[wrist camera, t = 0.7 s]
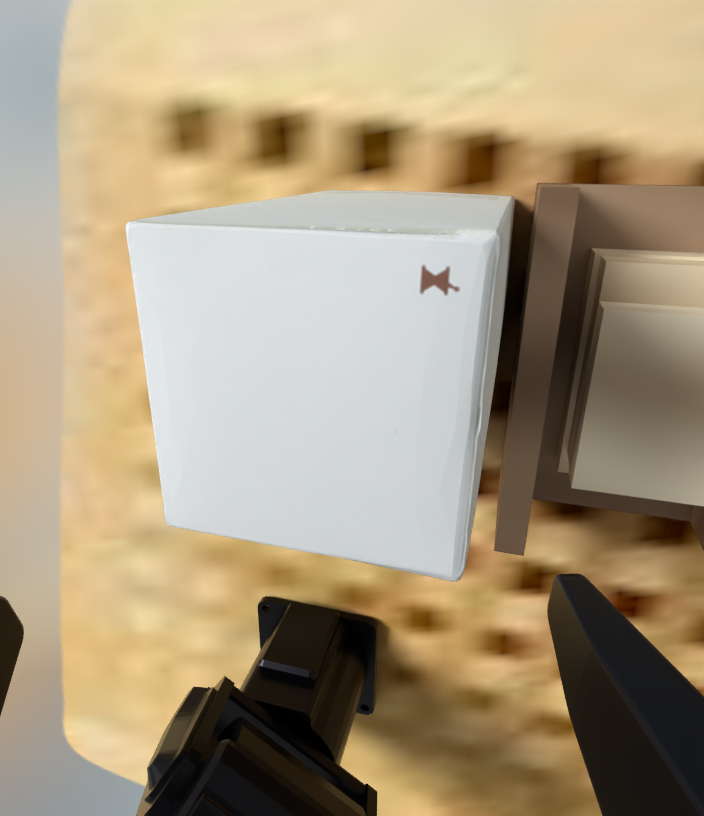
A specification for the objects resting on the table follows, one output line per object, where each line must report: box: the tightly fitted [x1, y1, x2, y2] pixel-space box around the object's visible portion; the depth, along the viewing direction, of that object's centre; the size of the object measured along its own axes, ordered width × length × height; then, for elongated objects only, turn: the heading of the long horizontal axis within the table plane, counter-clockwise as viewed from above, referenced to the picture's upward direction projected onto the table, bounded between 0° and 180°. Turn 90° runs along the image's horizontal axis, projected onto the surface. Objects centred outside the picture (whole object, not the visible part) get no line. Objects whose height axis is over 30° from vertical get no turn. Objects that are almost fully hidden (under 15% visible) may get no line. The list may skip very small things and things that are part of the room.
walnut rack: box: [494, 183, 704, 556], centre depth 19 cm, size 12×8×5 cm, turn 179°
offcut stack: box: [556, 248, 704, 506], centre depth 19 cm, size 8×5×4 cm, turn 179°
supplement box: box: [126, 190, 515, 581], centre depth 17 cm, size 7×7×13 cm
